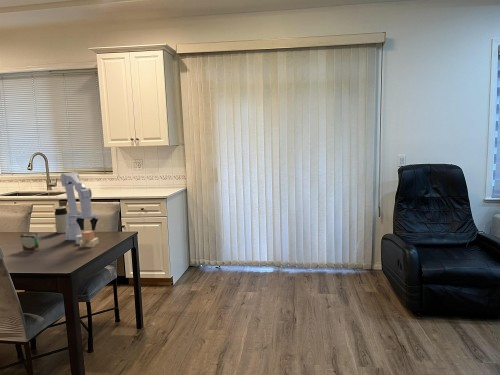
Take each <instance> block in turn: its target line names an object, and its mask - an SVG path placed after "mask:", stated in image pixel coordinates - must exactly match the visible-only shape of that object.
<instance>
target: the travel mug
mask: <svg viewBox="0 0 500 375" xmlns="http://www.w3.org/2000/svg"><path fill="white" fill-rule="evenodd" d="M54 210H55V211H54V220H55V221H54V222H55V228H56V229H55V230H56V233H57V234H66V233H65V229H66V227H67V224H66V217H65V216H66V214H67V213H68V210H67V206H65V205H64V206H61V205H60V206H56V207H54Z"/></svg>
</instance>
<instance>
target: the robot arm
mask: <svg viewBox="0 0 500 375" xmlns="http://www.w3.org/2000/svg"><path fill="white" fill-rule="evenodd" d="M60 183H61V186H62V187H64V190H65V196H66V200H67V206H68V211H67V214H66V216H65V217H66V224H67V227H66V229H65V233H64V234H65V241H76V236H77V235H82V232H83V231H84V230H85V220H89V222H90V226H91V231H96V226H97V223H98V221H99V218H100V217H99V215H97V214H92V213H93V212H92V204H91V198H92V195H93V193H92V190H91V188H90V187H89V188H88V187H86V186H85V184H84V183H83V182H81V181H80V174H79V173H78V172H77V171H76V172H75V171H74V172H62V173H61V174H60ZM75 191H76V192H77V196H78V200H79V203H80V210H78V206H77V202H76V195H75V194H76V193H75Z"/></svg>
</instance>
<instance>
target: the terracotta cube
mask: <svg viewBox="0 0 500 375" xmlns="http://www.w3.org/2000/svg"><path fill="white" fill-rule="evenodd" d="M94 231H95V230H94ZM94 231H92V230H85V231H84V230H83V231H82V241H90V240H92V239H94V238H95V232H94Z"/></svg>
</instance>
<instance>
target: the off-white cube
mask: <svg viewBox="0 0 500 375" xmlns="http://www.w3.org/2000/svg"><path fill="white" fill-rule="evenodd" d="M81 240H82V235H77V236H76V240H75V244H76V245H80V243H79V241H81Z"/></svg>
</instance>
